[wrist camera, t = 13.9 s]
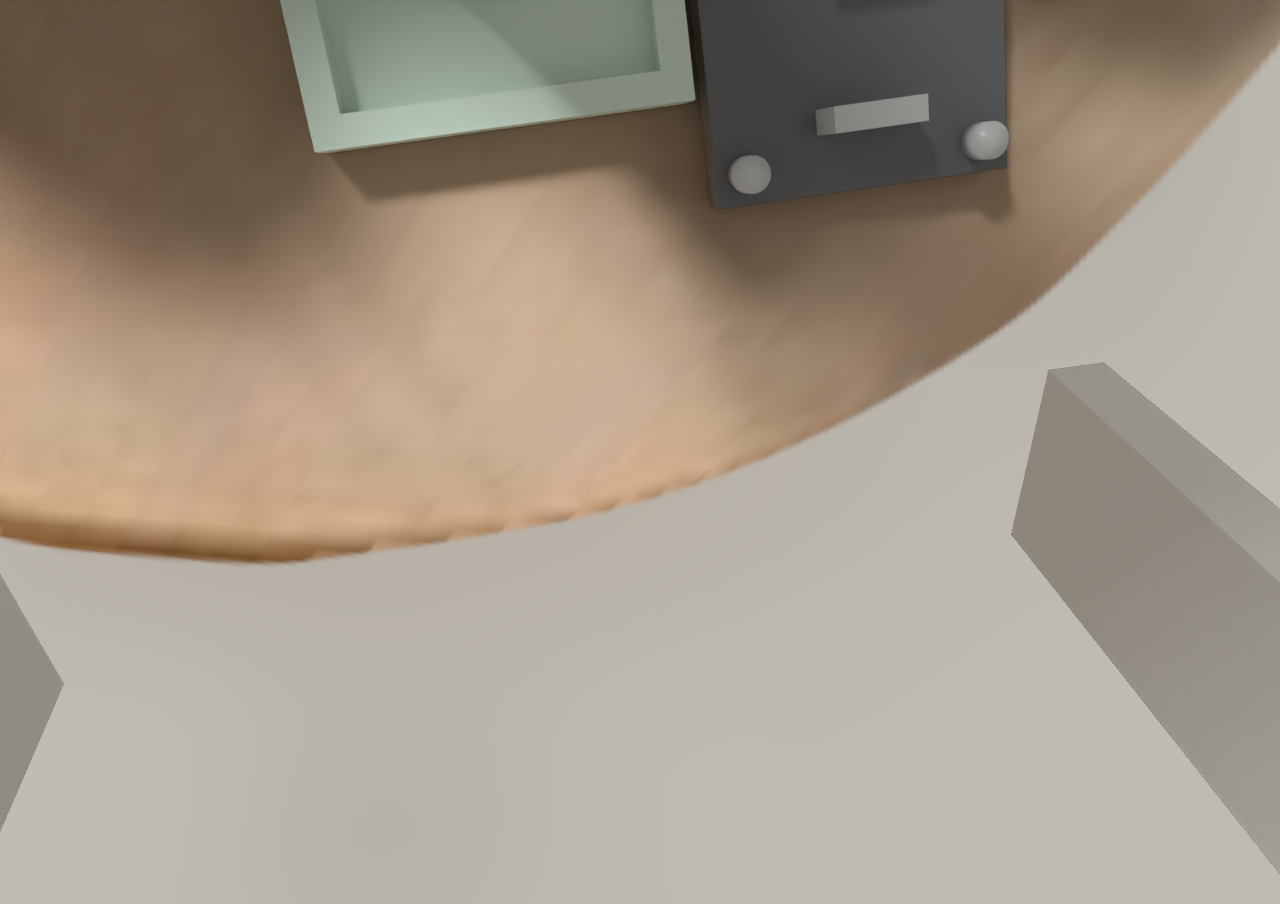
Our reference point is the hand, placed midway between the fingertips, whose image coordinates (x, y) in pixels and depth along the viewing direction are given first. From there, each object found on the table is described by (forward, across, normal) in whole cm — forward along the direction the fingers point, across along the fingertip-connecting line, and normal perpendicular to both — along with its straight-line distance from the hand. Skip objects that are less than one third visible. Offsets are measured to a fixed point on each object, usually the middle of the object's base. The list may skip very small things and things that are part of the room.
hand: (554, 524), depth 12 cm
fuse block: (+23, +12, +1) cm, 26 cm away
